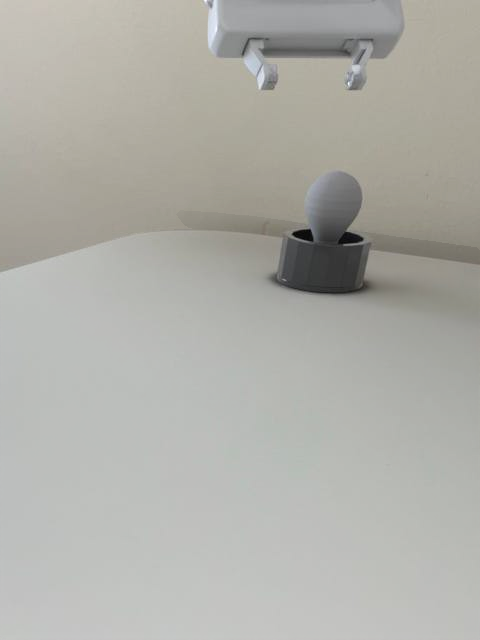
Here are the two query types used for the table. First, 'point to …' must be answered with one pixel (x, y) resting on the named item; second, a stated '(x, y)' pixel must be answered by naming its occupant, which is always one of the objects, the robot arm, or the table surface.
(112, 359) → the table surface
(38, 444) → the table surface
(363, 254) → the socket
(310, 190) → the light bulb
